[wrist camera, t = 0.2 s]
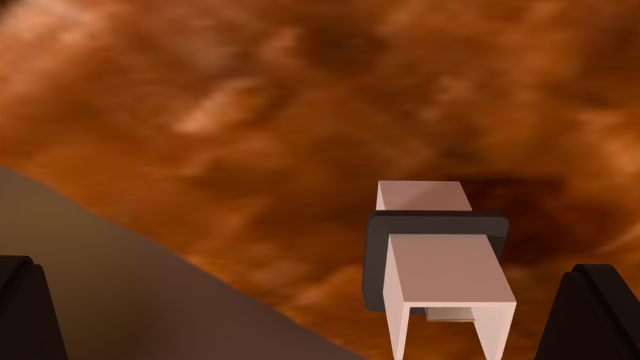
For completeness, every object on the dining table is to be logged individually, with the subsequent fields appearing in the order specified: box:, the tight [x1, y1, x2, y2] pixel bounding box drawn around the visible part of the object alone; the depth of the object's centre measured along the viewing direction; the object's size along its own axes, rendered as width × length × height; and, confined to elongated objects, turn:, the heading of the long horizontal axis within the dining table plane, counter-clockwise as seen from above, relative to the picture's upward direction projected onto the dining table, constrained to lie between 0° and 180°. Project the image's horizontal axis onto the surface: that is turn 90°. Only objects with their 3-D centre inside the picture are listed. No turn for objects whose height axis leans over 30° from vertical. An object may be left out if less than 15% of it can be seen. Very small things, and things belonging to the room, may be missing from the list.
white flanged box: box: [362, 181, 517, 360], centre depth 48 cm, size 25×24×16 cm
